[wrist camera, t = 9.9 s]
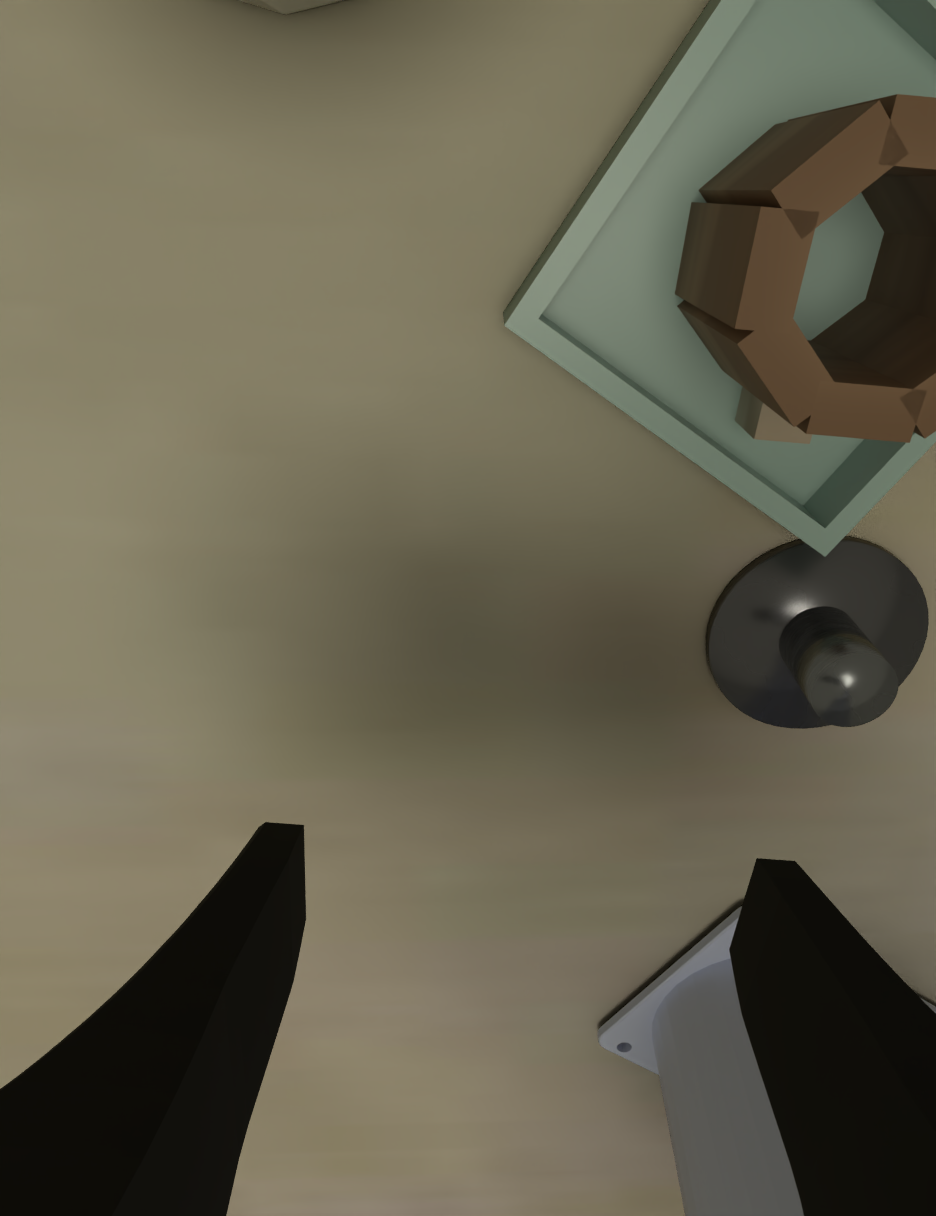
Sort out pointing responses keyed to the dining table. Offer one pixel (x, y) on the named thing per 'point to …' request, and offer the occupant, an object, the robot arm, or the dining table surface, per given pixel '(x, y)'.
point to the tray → (655, 232)
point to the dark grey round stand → (817, 634)
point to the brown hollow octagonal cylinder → (775, 264)
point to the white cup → (288, 4)
